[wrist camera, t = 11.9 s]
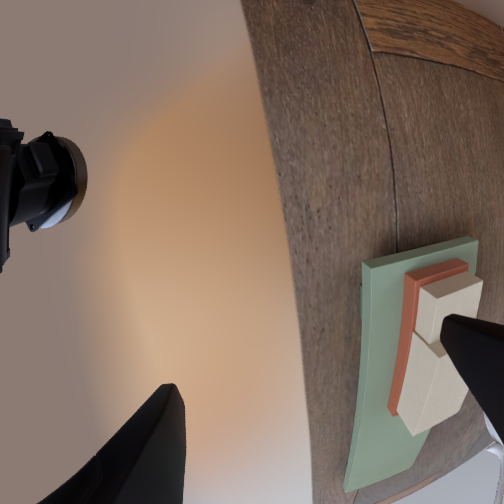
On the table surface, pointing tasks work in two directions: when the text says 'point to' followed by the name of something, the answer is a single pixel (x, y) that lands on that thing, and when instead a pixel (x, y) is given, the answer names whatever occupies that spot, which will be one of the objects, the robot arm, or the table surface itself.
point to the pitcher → (499, 450)
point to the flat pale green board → (388, 362)
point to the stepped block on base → (430, 344)
